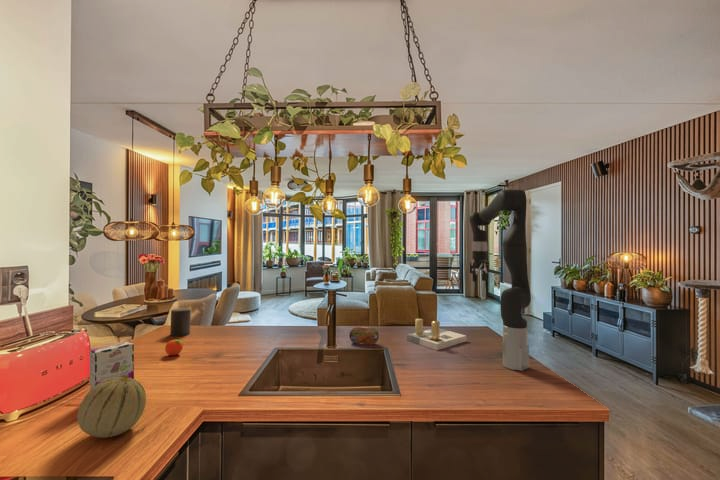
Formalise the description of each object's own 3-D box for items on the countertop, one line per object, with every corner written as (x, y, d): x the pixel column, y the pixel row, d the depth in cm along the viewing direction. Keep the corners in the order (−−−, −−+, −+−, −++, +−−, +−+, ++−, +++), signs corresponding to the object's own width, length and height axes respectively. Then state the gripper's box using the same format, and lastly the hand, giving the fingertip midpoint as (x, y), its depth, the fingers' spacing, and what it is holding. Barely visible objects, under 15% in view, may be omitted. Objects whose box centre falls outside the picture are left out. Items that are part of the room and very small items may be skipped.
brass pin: (441, 345, 165) (441, 322, 165) (436, 347, 163) (436, 323, 163) (434, 343, 168) (435, 320, 168) (429, 345, 166) (429, 321, 166)
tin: (349, 343, 167) (349, 327, 167) (350, 341, 171) (350, 325, 171) (378, 345, 165) (378, 328, 165) (379, 343, 168) (379, 327, 168)
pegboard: (466, 341, 173) (466, 320, 173) (436, 350, 158) (437, 327, 158) (436, 332, 189) (436, 313, 189) (406, 340, 174) (407, 319, 174)
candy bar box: (127, 387, 115) (128, 340, 116) (134, 390, 113) (135, 343, 113) (88, 400, 106) (89, 349, 106) (94, 404, 103) (95, 352, 103)
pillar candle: (176, 337, 175) (177, 309, 175) (166, 334, 180) (167, 307, 180) (194, 333, 183) (194, 306, 183) (183, 330, 188) (184, 304, 188)
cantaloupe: (63, 442, 84) (64, 384, 84) (123, 414, 98) (123, 364, 98) (101, 456, 79) (102, 394, 79) (158, 424, 92) (159, 371, 92)
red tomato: (188, 352, 151) (188, 337, 151) (178, 358, 144) (178, 342, 144) (171, 352, 152) (172, 336, 152) (161, 357, 145) (161, 341, 145)
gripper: (478, 250, 164) (478, 282, 164) (493, 250, 173) (493, 281, 173) (465, 250, 170) (465, 281, 170) (481, 250, 179) (480, 279, 179)
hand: (479, 281), depth 172 cm, fingers open, 8 cm apart
